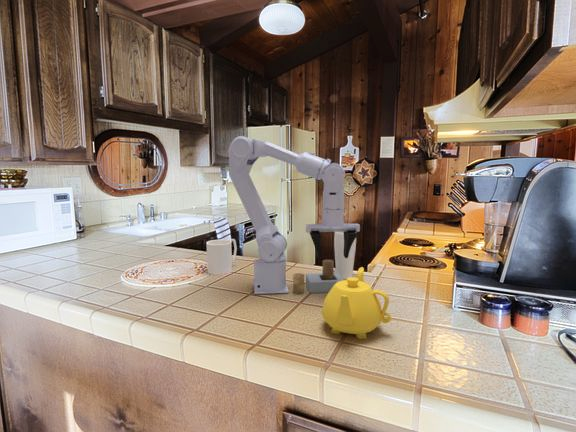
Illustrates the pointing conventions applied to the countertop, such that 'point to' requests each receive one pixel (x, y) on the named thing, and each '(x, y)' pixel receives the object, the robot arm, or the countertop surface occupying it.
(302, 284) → the oak stub
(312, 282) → the socket block
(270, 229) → the robot arm
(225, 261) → the cup
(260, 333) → the countertop surface
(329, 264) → the walnut dowel
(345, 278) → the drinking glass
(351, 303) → the teapot
